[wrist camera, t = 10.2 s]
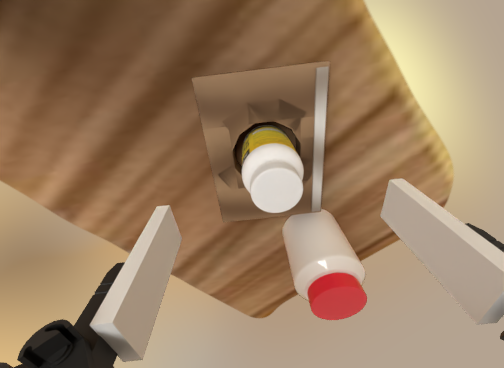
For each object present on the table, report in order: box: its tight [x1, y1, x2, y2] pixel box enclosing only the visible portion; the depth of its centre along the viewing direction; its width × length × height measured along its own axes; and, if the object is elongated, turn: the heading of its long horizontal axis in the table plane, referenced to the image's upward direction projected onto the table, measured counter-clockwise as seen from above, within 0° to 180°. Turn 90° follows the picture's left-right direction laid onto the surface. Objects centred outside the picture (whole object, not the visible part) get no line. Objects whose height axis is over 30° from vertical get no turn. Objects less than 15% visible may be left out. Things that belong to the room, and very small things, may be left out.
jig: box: [192, 61, 330, 222], centre depth 23 cm, size 16×12×3 cm
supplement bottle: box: [242, 125, 304, 213], centre depth 20 cm, size 5×5×10 cm
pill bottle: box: [282, 209, 367, 320], centre depth 26 cm, size 8×8×11 cm
